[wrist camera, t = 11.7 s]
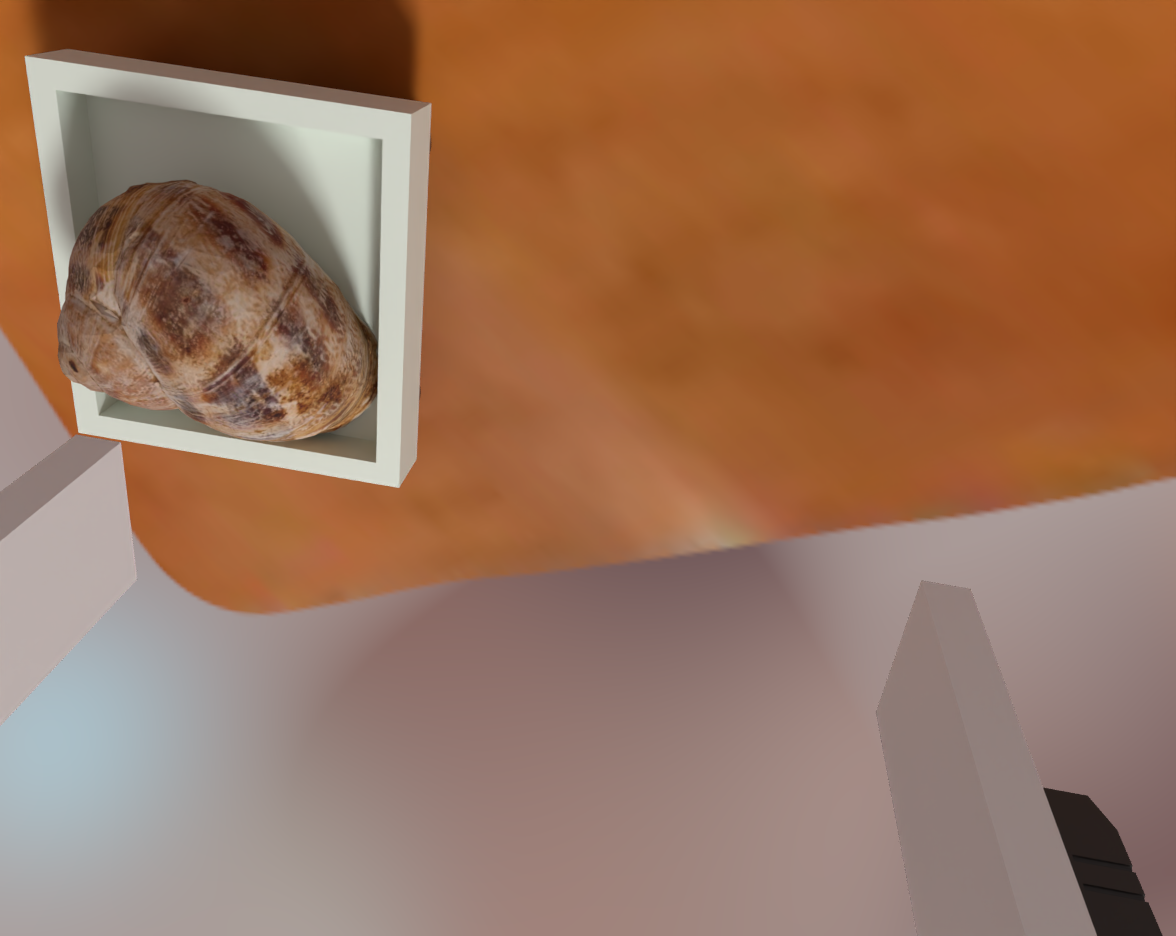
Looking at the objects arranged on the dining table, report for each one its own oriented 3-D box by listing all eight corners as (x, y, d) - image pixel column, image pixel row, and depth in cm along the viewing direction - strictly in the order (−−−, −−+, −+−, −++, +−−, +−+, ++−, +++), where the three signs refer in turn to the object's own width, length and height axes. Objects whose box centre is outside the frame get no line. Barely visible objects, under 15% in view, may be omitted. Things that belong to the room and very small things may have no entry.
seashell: (148, 437, 43) (-17, 409, 33) (170, 232, 44) (14, 144, 34) (383, 454, 42) (285, 431, 32) (402, 243, 42) (311, 155, 32)
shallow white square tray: (104, 42, 39) (24, 56, 35) (448, 94, 39) (411, 114, 34) (141, 385, 47) (78, 432, 42) (431, 434, 46) (399, 487, 41)
